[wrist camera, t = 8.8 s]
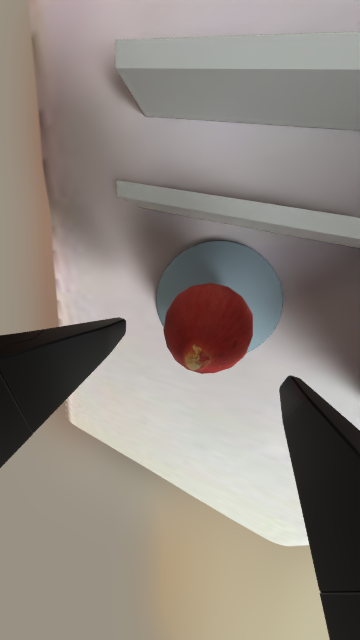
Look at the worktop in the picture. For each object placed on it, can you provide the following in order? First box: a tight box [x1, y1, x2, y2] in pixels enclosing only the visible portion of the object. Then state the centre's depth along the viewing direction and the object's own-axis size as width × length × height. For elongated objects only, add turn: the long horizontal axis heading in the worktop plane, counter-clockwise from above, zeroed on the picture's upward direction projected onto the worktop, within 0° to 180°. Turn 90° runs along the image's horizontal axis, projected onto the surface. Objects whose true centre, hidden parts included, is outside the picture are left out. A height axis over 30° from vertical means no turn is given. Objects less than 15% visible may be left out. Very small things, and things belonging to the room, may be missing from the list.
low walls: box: [115, 32, 360, 248], centre depth 8 cm, size 16×6×3 cm, turn 79°
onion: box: [164, 283, 253, 374], centre depth 10 cm, size 6×6×8 cm
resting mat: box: [156, 241, 283, 353], centre depth 14 cm, size 11×11×1 cm
